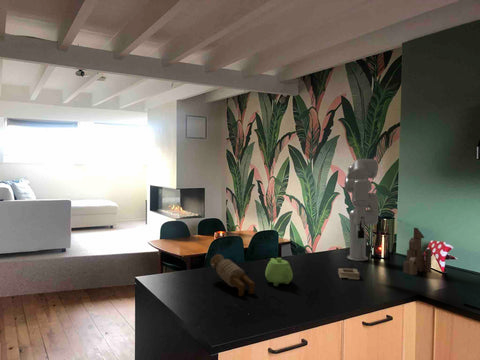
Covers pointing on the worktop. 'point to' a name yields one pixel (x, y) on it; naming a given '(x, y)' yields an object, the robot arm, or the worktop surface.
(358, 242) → the dowel
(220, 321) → the worktop surface
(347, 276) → the tan rectangular frame
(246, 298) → the worktop surface
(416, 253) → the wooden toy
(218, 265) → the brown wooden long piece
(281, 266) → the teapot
